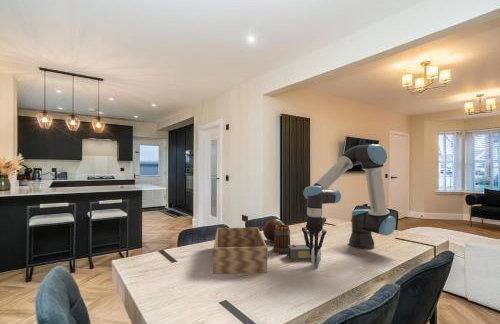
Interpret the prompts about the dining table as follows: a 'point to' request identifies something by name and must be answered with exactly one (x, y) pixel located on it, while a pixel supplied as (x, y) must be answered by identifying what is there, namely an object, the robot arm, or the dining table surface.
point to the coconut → (271, 229)
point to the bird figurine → (323, 221)
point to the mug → (281, 238)
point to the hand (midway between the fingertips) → (313, 261)
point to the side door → (318, 257)
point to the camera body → (299, 252)
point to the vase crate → (239, 251)
